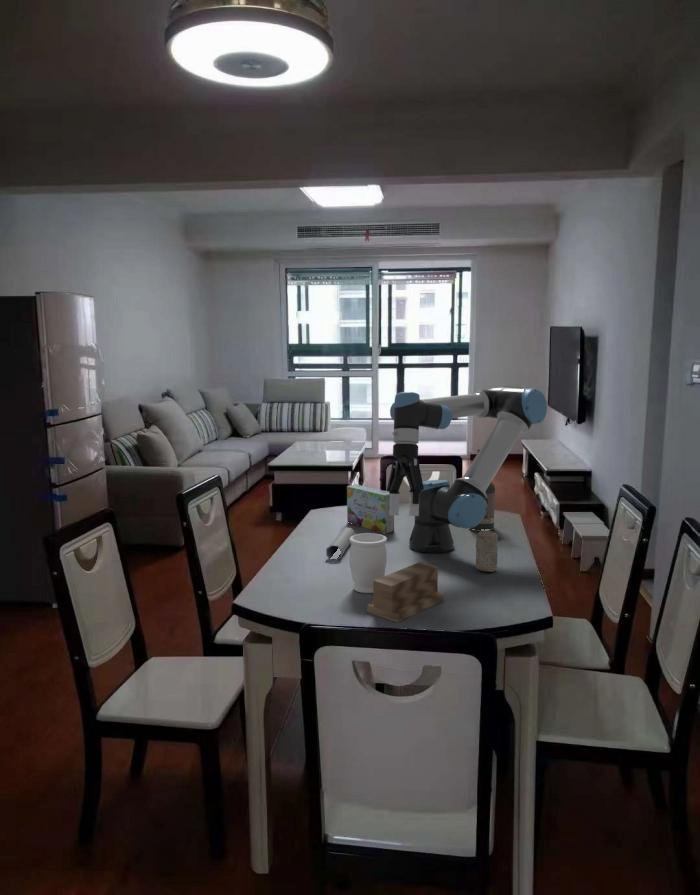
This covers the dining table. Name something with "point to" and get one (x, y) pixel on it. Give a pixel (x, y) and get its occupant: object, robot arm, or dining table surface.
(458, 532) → the dining table surface
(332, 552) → the tube
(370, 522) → the snack box
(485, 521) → the liquor
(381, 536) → the jar
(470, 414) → the robot arm
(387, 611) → the wooden block
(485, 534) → the carving
